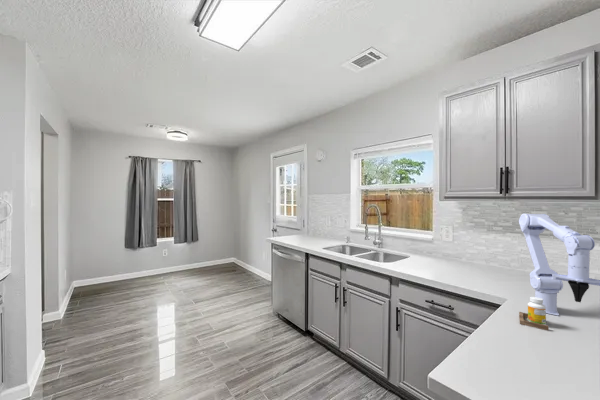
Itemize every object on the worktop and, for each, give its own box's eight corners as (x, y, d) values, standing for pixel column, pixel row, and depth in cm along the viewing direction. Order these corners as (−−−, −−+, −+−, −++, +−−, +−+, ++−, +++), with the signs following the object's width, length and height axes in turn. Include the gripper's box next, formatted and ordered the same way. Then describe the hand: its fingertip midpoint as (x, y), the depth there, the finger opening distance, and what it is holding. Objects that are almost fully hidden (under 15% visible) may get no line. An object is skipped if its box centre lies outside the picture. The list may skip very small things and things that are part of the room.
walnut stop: (519, 315, 115) (519, 311, 114) (545, 321, 109) (545, 317, 109) (519, 324, 106) (519, 320, 106) (548, 330, 101) (548, 326, 101)
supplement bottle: (526, 319, 111) (526, 295, 111) (543, 322, 108) (543, 297, 109) (529, 323, 106) (529, 298, 107) (547, 326, 103) (547, 301, 104)
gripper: (554, 265, 105) (553, 299, 105) (609, 271, 96) (608, 309, 96) (551, 261, 110) (551, 294, 110) (604, 267, 101) (603, 303, 101)
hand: (577, 301), depth 103 cm, fingers closed
